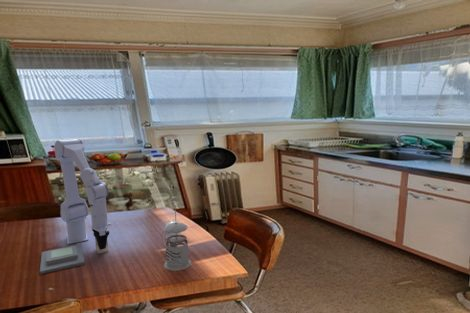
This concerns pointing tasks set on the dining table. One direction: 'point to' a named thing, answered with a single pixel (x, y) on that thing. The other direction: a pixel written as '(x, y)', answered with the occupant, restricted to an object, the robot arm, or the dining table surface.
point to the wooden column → (101, 249)
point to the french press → (180, 259)
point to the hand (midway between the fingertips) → (101, 246)
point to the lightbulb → (172, 233)
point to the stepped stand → (61, 258)
